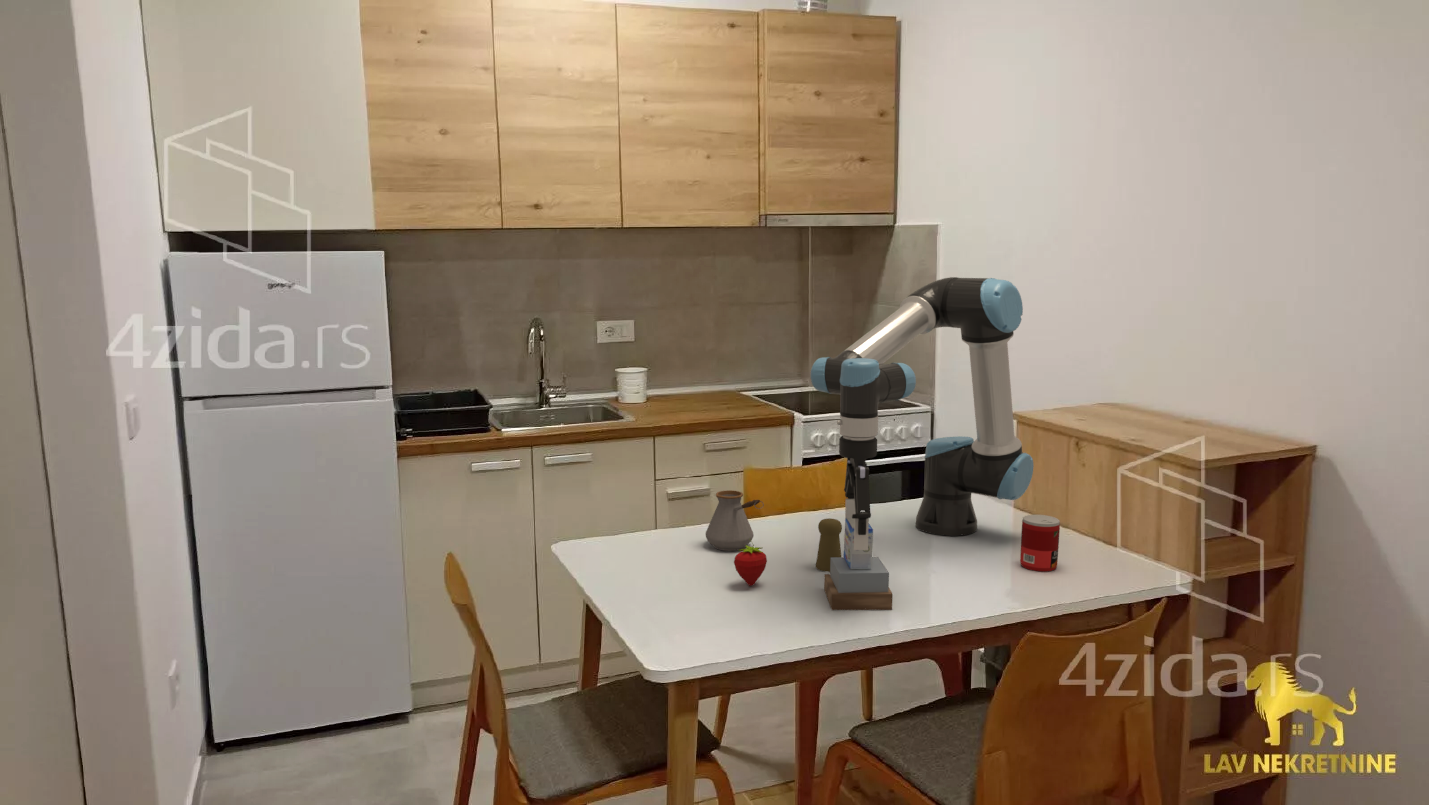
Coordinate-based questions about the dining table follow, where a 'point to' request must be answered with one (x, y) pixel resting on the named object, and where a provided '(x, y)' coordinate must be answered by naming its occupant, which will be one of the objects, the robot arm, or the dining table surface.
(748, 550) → the strawberry
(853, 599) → the walnut slab
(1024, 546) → the canned food
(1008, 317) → the robot arm
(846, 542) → the medicine box
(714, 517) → the coffee pot
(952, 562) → the dining table surface
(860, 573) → the slate slab
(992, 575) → the dining table surface
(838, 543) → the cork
